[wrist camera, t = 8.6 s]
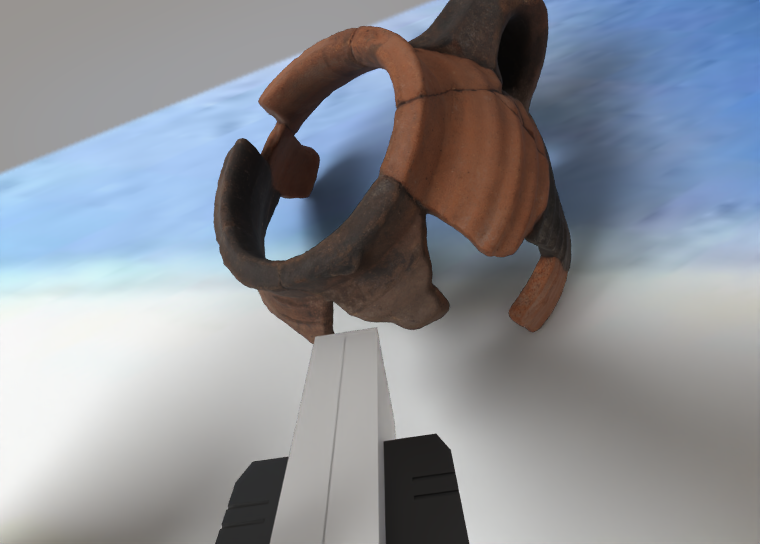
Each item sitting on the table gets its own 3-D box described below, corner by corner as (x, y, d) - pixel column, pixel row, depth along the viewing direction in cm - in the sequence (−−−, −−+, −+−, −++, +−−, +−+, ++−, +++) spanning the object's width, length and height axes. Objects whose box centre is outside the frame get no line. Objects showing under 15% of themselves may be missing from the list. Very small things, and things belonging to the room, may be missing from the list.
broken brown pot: (531, 438, 16) (350, 386, 10) (329, 333, 23) (145, 264, 17) (680, 74, 17) (594, -167, 11) (445, 74, 24) (311, -80, 18)
